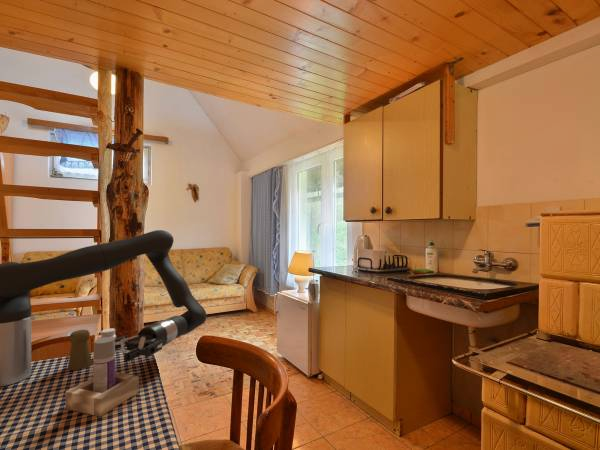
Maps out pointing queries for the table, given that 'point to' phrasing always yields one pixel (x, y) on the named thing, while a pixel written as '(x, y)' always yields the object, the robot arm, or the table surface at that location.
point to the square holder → (101, 395)
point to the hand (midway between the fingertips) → (112, 356)
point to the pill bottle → (108, 333)
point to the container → (104, 364)
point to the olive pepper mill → (79, 350)
